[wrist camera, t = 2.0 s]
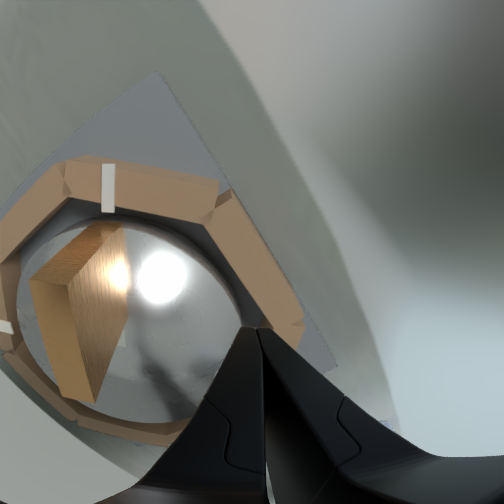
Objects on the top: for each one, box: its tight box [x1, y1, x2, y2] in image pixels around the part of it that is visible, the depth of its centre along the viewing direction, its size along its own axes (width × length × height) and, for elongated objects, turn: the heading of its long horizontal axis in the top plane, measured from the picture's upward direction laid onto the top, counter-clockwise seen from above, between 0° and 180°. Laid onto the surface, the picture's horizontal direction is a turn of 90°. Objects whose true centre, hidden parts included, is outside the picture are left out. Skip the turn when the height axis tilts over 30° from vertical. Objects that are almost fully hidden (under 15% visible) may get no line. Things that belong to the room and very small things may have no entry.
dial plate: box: [0, 71, 337, 447], centre depth 14 cm, size 18×16×3 cm
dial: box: [16, 215, 242, 423], centre depth 12 cm, size 12×12×7 cm
